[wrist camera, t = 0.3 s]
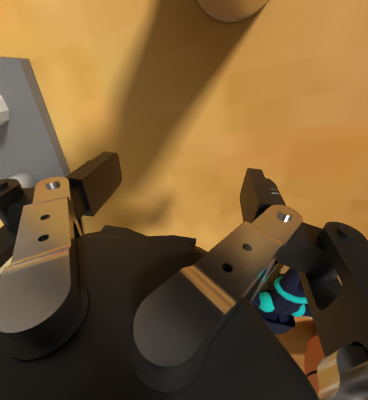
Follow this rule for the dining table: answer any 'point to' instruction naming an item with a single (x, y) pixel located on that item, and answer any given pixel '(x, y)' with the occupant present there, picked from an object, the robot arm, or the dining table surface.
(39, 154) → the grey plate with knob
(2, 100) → the white domed knob
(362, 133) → the dining table surface
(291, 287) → the toy
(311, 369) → the basketball
